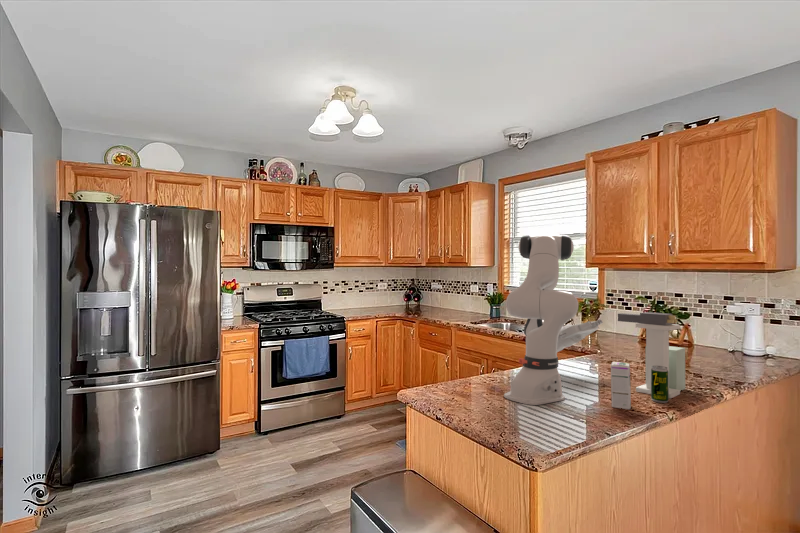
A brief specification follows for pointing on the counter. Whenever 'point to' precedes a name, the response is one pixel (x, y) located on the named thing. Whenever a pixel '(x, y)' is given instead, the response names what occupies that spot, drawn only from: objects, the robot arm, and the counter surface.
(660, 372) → the beer can
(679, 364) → the socket block
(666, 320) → the grey boxy piece
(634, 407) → the counter surface
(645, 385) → the tall shelf
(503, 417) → the counter surface
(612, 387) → the syrup box
